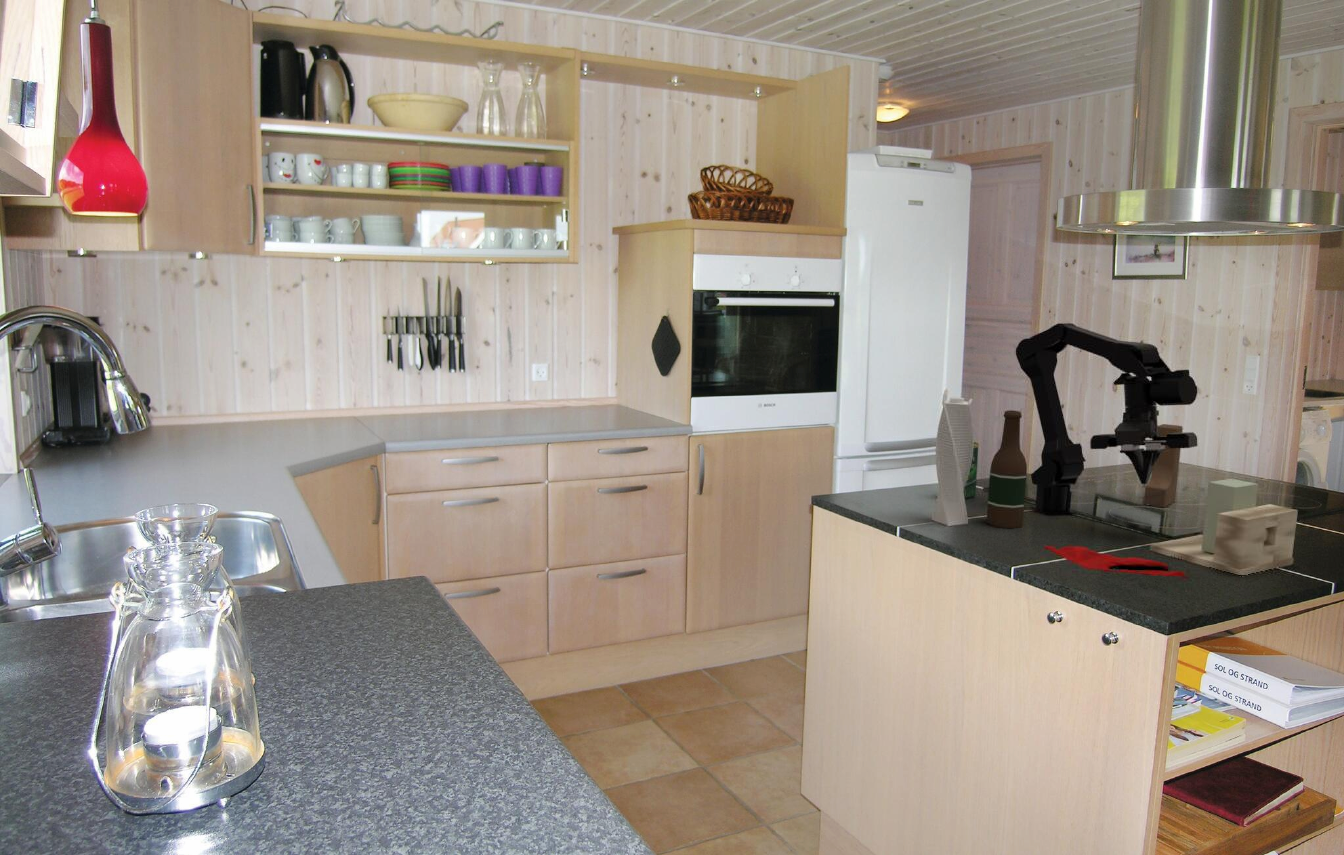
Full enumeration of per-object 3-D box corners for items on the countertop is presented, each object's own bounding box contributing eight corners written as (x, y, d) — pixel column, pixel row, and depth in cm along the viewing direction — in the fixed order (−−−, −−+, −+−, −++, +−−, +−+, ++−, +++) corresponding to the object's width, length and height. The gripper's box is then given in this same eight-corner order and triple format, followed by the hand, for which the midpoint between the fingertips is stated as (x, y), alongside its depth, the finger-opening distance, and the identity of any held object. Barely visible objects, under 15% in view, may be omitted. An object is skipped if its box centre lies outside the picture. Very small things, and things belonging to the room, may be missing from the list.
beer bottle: (1030, 524, 201) (1039, 411, 197) (1014, 530, 195) (1023, 415, 191) (994, 517, 206) (1002, 407, 202) (978, 523, 201) (986, 410, 197)
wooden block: (1164, 508, 217) (1172, 430, 214) (1143, 504, 220) (1150, 427, 217) (1175, 501, 223) (1183, 425, 220) (1154, 498, 226) (1162, 423, 223)
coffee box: (952, 501, 220) (956, 445, 218) (943, 499, 222) (946, 443, 220) (976, 497, 224) (980, 442, 222) (966, 495, 227) (970, 440, 224)
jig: (1149, 550, 183) (1155, 498, 181) (1200, 540, 190) (1206, 490, 189) (1241, 576, 168) (1248, 520, 166) (1292, 564, 175) (1299, 510, 174)
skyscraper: (922, 518, 204) (930, 388, 200) (950, 515, 207) (959, 387, 202) (947, 527, 197) (955, 393, 192) (975, 524, 200) (984, 392, 195)
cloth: (1023, 553, 182) (1024, 542, 182) (1067, 543, 189) (1068, 532, 189) (1155, 592, 160) (1156, 579, 160) (1198, 579, 168) (1200, 566, 168)
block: (1201, 549, 178) (1208, 482, 176) (1223, 545, 182) (1231, 478, 180) (1249, 562, 171) (1258, 492, 168) (1272, 557, 174) (1280, 488, 172)
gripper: (1077, 410, 192) (1081, 487, 193) (1176, 406, 179) (1180, 489, 179) (1099, 407, 200) (1103, 481, 200) (1196, 403, 187) (1200, 483, 187)
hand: (1144, 483), depth 192 cm, fingers closed
